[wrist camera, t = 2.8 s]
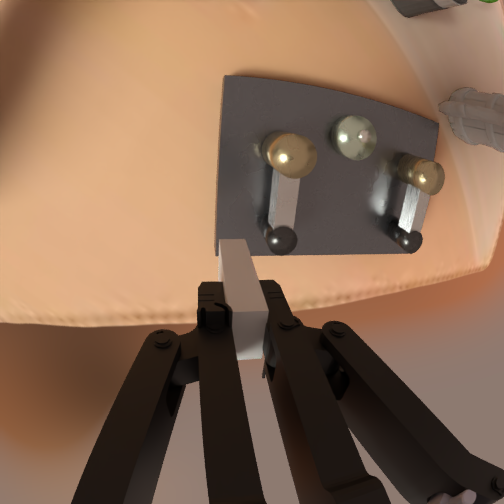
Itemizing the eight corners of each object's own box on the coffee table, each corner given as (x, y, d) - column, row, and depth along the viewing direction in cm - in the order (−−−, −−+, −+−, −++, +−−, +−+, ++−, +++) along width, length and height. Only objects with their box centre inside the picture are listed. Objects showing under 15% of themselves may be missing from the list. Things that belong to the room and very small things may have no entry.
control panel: (214, 246, 28) (216, 265, 24) (222, 78, 21) (226, 71, 17) (401, 246, 32) (419, 260, 29) (427, 121, 25) (450, 125, 22)
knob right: (381, 238, 28) (402, 256, 25) (400, 151, 24) (426, 159, 20) (402, 239, 29) (423, 255, 25) (421, 156, 24) (447, 165, 21)
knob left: (254, 237, 25) (263, 258, 22) (263, 129, 21) (275, 132, 18) (288, 237, 26) (301, 258, 23) (300, 133, 22) (319, 137, 18)
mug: (476, 144, 27) (543, 169, 17) (423, 136, 26) (505, 160, 15) (477, 93, 23) (546, 107, 13) (422, 73, 22) (506, 77, 12)
